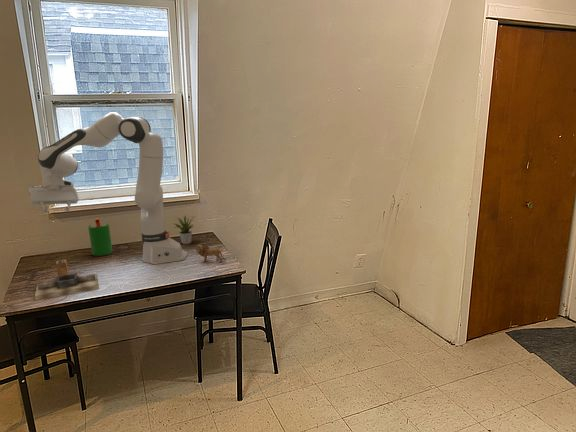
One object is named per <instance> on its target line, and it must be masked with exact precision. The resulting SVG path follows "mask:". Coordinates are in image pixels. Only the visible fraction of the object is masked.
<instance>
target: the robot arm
mask: <svg viewBox="0 0 576 432" xmlns="http://www.w3.org/2000/svg"><path fill="white" fill-rule="evenodd" d="M151 130H152V129H151V125H150V123H149V121H148V120H146V119H145V118H143V117H138V116H128V117H125V118H124V117H123V115H121V114H120V113H118V112H115V111H111V112H108V113H106V114H104V115H103V116H101V117H100V118H98V119H97V120H96V121H95V122H94V123H92V124H91V125H89V126H86V127H84V128H77V129H76V130H74V131H72V132H70V133H68V134H67V135H65V136H63V137H62V138H61V139H58V140H57V141H56V142H54V143H52V144H50V145H47V146H45V147H43V148H42V149H41V150H39V152H38V155H37V161H38V163H39V166H40V175H41V176H42V177H41V178H42V179H41V182H42V183H41V184H42V185H37V186H36V185H33V186H30V187H29V188H28V193H29V194H30V200H29V201H30V203H31V205H35V206H36V205H39V207H40V208H41V210H42V212H43V213H47V212H48V207H47V206H44V205H67V206H65V208H64V209H65V212H70V207H71V206H72V204H76V205H77V203H78V202H79V200H80V199H79V195H78V191H77V188H75V184H74V182H72V181H68V180H65V179H63V178H67V177H69V176H72V175H74V174H75V173H76V172H77V171H78V167H79V164H78V163H79V162H78V160H77V159H76V158H75V157H73V156H71V155H70V154H66V152H68V151H70V150H71V149H73V148H74V147H77V146H89V147H94V148H103V147H106V146H107V145H109V144H111V142H112V141H113V140H115V139H116V138H117V137H119V136H121V137H122V138H123V139H125V140H127V141H129V142H132V143H134V144H138V147H139V156H138V158H139V159H138V173H137V179H136V184H135V192H134V202H135V204H136V206H138V208H140V219H139V220H140V226H141V227H140V228H141V244H142V246H143V247H142V256H141V261H142V262H143V263H147V264H151V265H161V264H167V263H172V262H173V263H174V262H179V261H184V260H185V259H186V258H187V257H188V253H187V251H186V250H184V249H183V248H182V245H181V244H180V242H178V241H176V240H175V239H173V238H171V237H170V232H169V230H165V220H164V191H163V187H162V185H161V181H162V175H163V162H164V144H163V139H162V137H161V136H160V135H159V134H157V133H154V132H151Z"/></svg>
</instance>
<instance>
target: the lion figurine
mask: <svg viewBox="0 0 576 432" xmlns="http://www.w3.org/2000/svg"><path fill="white" fill-rule="evenodd" d="M195 252H196V253H197V254H198V255H199V256H201V257H203V263H207V261H208V257H213V256H215V257H216V259H215V261H218V262H219V263H222V262H223V260H224V261H226V260H227V259H226V258H224V256H223V253H222V252H221V250H220V249H219V248H209V247H208V246H205V245H204V244H197V245H196V246H195Z"/></svg>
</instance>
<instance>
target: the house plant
mask: <svg viewBox="0 0 576 432" xmlns="http://www.w3.org/2000/svg"><path fill="white" fill-rule="evenodd" d="M195 217H196V215H194V216H193V217H191V216H189V217H188V218H187V215H186V214H185V215H184V216H183V218H181V217H175V219H174V220H175V221H176V222H177V223H175V222H172V224H173V225H175V226H174V227H173V229H174V228H178V229H180V231H179V233H178V234H179V239H180V240H181V244H182V243H183V245H189V244H191V243H192V234H193V231H192V230H190V229H192V228H194V225H193V224H191V223H192V222H193V221H194V220H195V219H194V218H195ZM190 218H191V219H190ZM176 219H177V220H178V221H177V220H176ZM189 219H190V220H189Z"/></svg>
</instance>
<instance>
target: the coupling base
mask: <svg viewBox="0 0 576 432" xmlns="http://www.w3.org/2000/svg"><path fill="white" fill-rule="evenodd" d="M55 278H56V279H53V281H47V282H42V283H37V286H36V289H35V294H34V300H35V301H41V300H46V299H49V298H51V299H52V298H55V297H61V296H65V295H66V296H67V295H71V294H72V295H73V294H77V293H82V292H88V291H93V290H97V289H98V290H99V289H100V286H99V278H98V273H92V274H87V275H86V274H85V275H81V276H80V275H79V274H78V273H75V272H74V273H68V275H62V276H58V275H57V276H56V277H55Z"/></svg>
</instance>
